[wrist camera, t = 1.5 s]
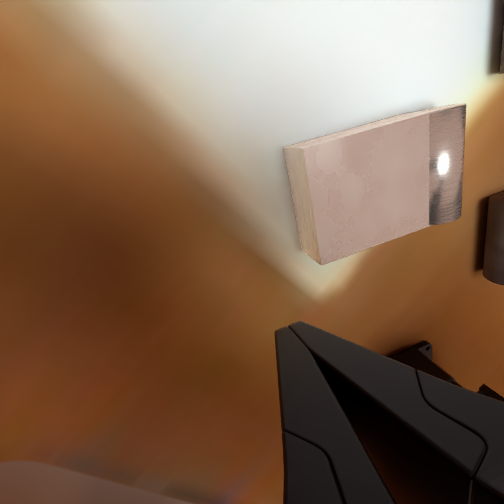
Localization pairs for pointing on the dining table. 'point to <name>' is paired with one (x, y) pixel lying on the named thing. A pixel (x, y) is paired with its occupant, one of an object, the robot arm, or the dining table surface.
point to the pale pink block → (377, 181)
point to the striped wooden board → (495, 228)
